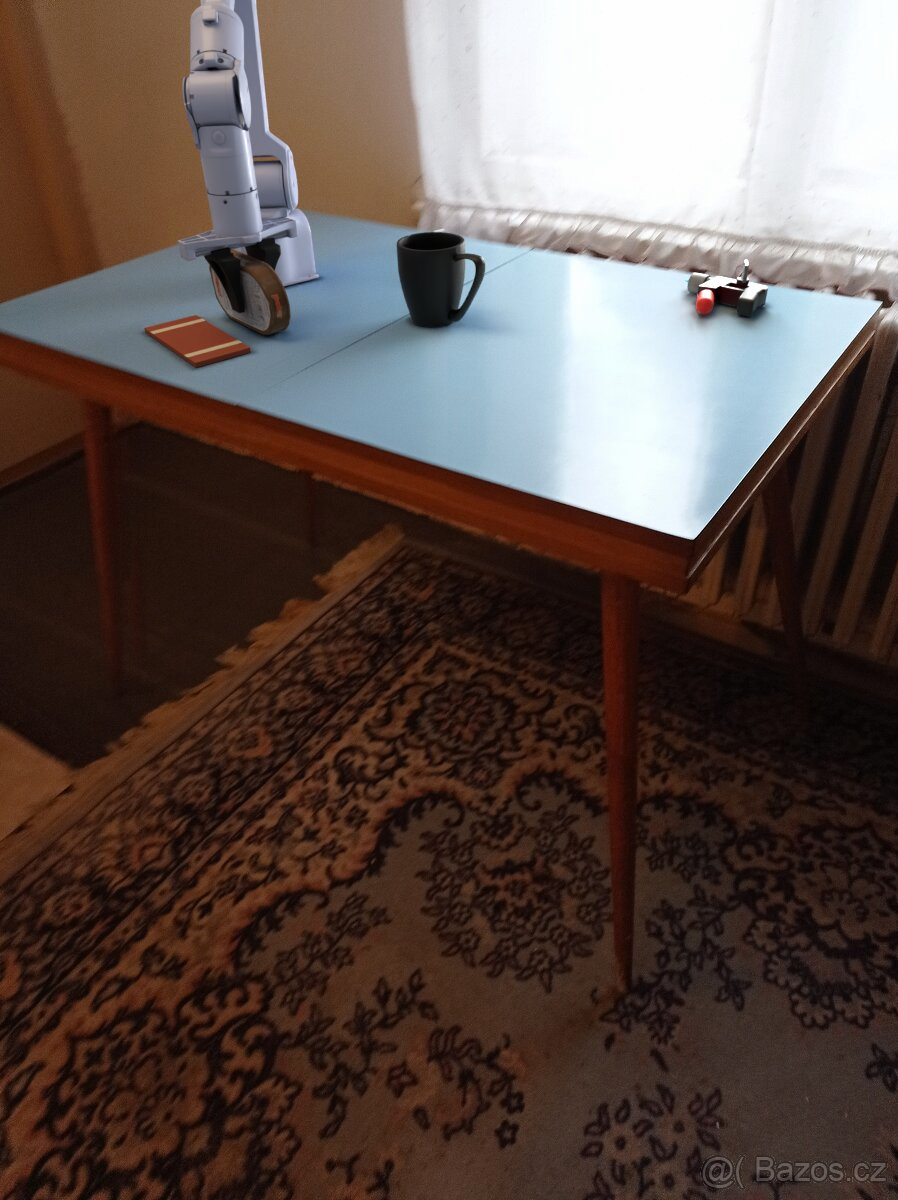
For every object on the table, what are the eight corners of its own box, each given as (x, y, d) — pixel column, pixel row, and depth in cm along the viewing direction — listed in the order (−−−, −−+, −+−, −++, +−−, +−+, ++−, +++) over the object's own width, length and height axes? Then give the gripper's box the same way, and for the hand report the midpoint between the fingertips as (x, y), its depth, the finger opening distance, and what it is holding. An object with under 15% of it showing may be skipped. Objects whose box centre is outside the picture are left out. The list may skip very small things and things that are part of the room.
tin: (296, 338, 110) (287, 267, 105) (274, 344, 108) (263, 273, 103) (234, 308, 119) (223, 242, 114) (213, 314, 118) (200, 247, 113)
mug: (458, 343, 107) (456, 260, 101) (387, 321, 114) (381, 243, 108) (503, 323, 112) (503, 244, 106) (432, 303, 118) (429, 227, 113)
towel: (196, 319, 116) (195, 314, 116) (251, 352, 107) (250, 347, 106) (145, 332, 113) (143, 327, 113) (196, 367, 103) (194, 362, 103)
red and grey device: (690, 286, 121) (694, 249, 118) (775, 304, 114) (782, 265, 111) (651, 306, 115) (655, 267, 112) (738, 326, 109) (745, 286, 106)
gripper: (187, 207, 98) (211, 330, 106) (304, 185, 105) (318, 302, 113) (161, 196, 103) (186, 315, 111) (274, 175, 109) (290, 288, 118)
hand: (251, 307), depth 112 cm, fingers closed on tin, 3 cm apart
